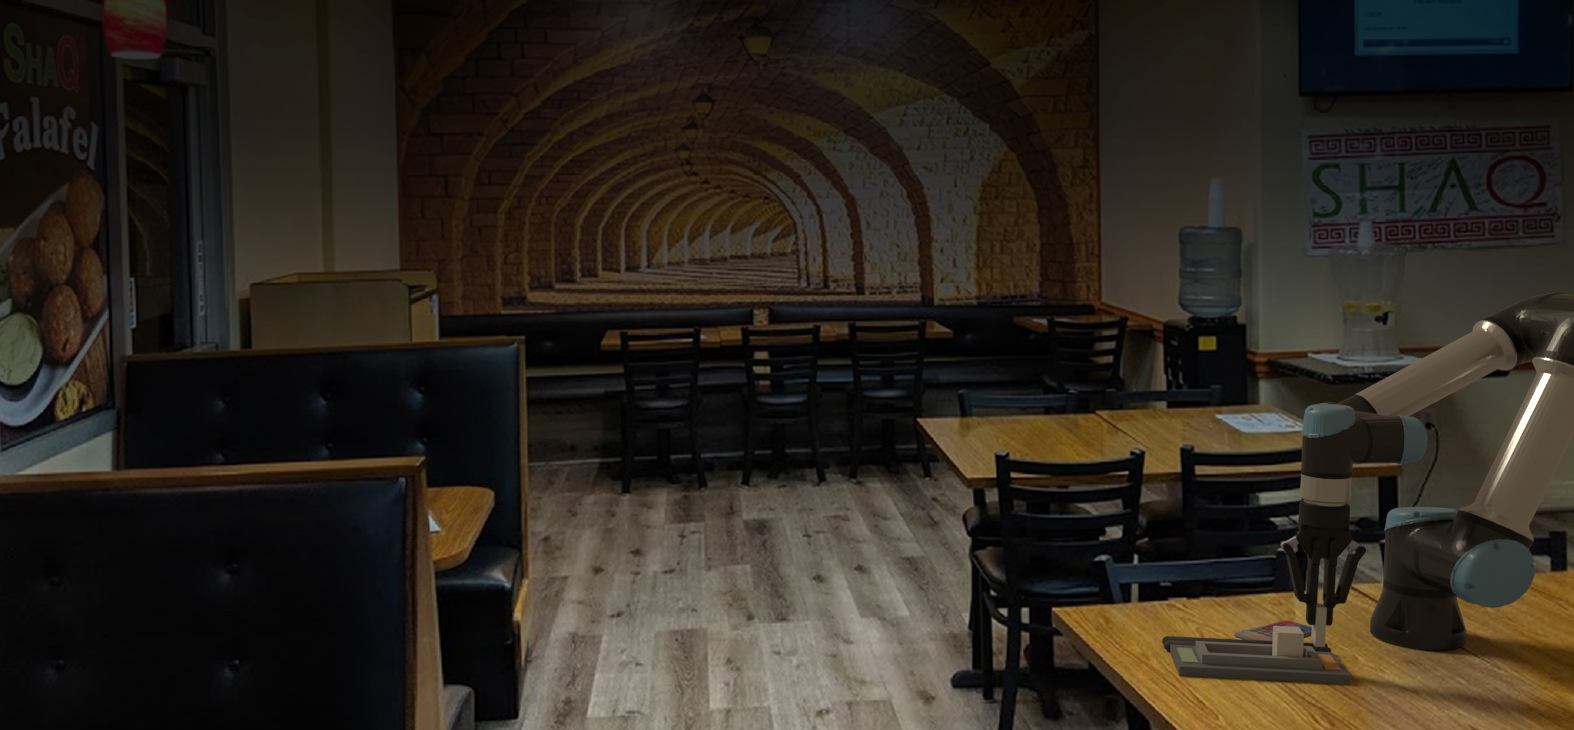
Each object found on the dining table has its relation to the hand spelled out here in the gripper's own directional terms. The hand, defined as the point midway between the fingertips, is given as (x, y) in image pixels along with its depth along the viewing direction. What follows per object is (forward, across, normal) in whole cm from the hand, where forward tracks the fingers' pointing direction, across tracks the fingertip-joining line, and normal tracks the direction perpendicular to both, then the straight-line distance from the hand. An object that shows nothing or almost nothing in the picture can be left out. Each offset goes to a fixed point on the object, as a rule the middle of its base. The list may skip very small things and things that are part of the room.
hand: (1317, 643), depth 206 cm
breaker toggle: (+3, +5, 0) cm, 5 cm away
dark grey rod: (+5, +9, -9) cm, 14 cm away
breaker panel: (+5, +9, 0) cm, 10 cm away
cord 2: (+5, +9, -7) cm, 12 cm away
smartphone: (+5, +2, -19) cm, 20 cm away
